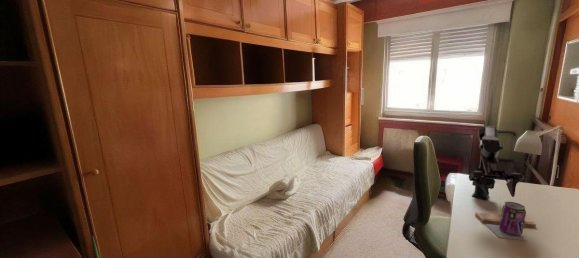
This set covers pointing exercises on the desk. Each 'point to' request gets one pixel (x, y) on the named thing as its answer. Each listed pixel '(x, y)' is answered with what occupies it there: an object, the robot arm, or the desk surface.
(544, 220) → the desk surface
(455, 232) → the desk surface
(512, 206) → the beverage can
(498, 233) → the slate mat
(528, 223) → the tan flat block
